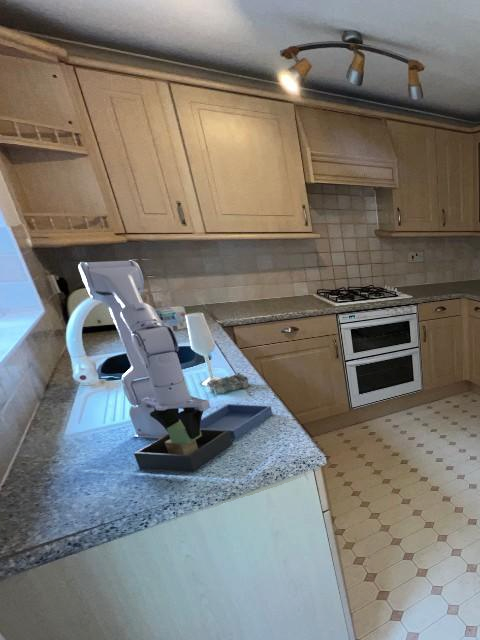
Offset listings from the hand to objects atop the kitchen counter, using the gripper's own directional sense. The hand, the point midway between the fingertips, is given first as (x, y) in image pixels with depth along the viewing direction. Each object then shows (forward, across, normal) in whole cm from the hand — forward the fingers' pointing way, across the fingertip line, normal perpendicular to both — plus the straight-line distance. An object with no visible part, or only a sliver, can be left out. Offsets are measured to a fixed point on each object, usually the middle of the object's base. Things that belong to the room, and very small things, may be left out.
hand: (186, 436), depth 93 cm
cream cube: (+6, -4, +2) cm, 7 cm away
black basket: (+6, -2, +1) cm, 7 cm away
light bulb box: (+6, -107, +113) cm, 156 cm away
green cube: (+1, 0, 0) cm, 1 cm away
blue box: (+6, -3, +17) cm, 18 cm away
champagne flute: (+7, -33, +47) cm, 58 cm away
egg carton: (+7, -23, +42) cm, 48 cm away
